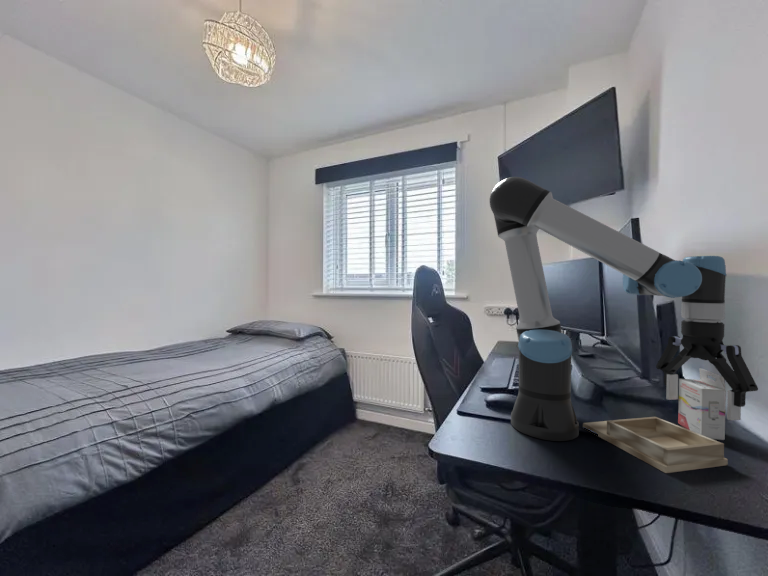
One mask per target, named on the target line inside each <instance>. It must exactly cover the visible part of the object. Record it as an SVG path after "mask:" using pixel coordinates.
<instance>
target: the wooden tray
mask: <svg viewBox="0 0 768 576" xmlns="http://www.w3.org/2000/svg"><path fill="white" fill-rule="evenodd" d="M583 427H585V428H587V429H590V430H592V431H594V432H596V433H597V434H598V436H597V437H598V438H601V439H602V440H604V441H607V442H608V443H610V444H612V445H614V446H616V447H617V448H619V449H621V450H623V451H624V452H626V453H628V454H630V455H632V456H633V457H636V459H639V460H641V461H643V462H645V463H647V464H648V465H650V466H651V467H653V468H655V469H657V470H659V471H661V472H663V473H664V474H671V473H677V472H678V473H679V472H685V471H694V470H699V469H700V470H702V469H708V468H710V469H711V468H715V467H717V468H718V467H723V466H728V463H729V461H728V458H726V457H725V443H723V442H720V441H717V439H711V438H708V437H706V436H703V435H701V434H698V433H696V432H693V431H690V430H688V429H686V428H685V427H683V426H681V425H678V424H676V423H674V422H670V421H668V420H665V419H663V418H660V417H657V416H649V417H647V416H646V417H637V418H634V417H633V418H626V419H625V418H623V419H612V420H604V421H603V420H602V421H601V420H600V421H590V422H583V423H582V428H583Z"/></svg>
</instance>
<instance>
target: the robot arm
mask: <svg viewBox="0 0 768 576" xmlns="http://www.w3.org/2000/svg"><path fill="white" fill-rule="evenodd" d="M489 207H490V209H491V210H490V211H492V213H493V217H494V221H495V222H494V223H495V227H496V228H495V229H496V232H497V237H498V238H499V239H502V241H504V245H505V250H506V255H507V259H508V265H509V270H510V275H511V280H512V285H513V290H514V294H515V301H516V307H517V310H518V316H519V322H518V324H517V325H516V326H515V329H516V334H517V340H518V344H517V346H518V347H517V348H518V394H517V397H516V399H515V401H514V404H513V409H512V410H511V413H510V424H511V425H512V427H513V428H514V429H515V430H517V431H518V432H520V433H522V434H525V435H526V436H529V437H532V438H536V439H539V440H545V441H554V442H566V441H567V442H568V441H572V440H574V439H576V438H578V437H579V434H580V433H579V432H580V426H579V421H578V419H577V415H576V412H575V408H574V406H573V403H572V353H573V346H572V340H571V338H570V336H569V335H567V334H566V333H564V332H563V331H562V326H561V321H560V320H558V318H557V319H556V318H555V317H554V316H553V312H552V307H551V302H550V297H549V292H548V287H547V283H546V278H545V272H544V267H543V263H542V256H541V252H540V247H539V243H538V238H537V233H538V232H539V230H541V231H542V232H545V233H546V234H548V235H550V236H552V237H553V238H556V239H558V240H559V241H561V242H563V243H565V244H567V245H569V246H570V247H573V248H574V249H575V250H577V251H580V252H582V253H583V254H585V255H587V256H589V257H590V258H593V259H594V260H596V261H599V262H600V263H602V264H604V265H606V266H608V267H609V268H611V269H612V270H615V271H617V272H619V273H621V274H622V288H623V291H624V292H625V293H626V294H628V295H637V296H657V297H661V296H662V297H666V298H671V299H674V298H681V313H680V315H681V316H680V317H681V318H683V320H682V321H681V322H680V323H681V324H680V327H681V329H680V330H681V331H680V332H681V335H682V337H681V336H678V335H677V336H675V335H674V336H669V337H668V338H667V339H668V341H667V345H666V347H665V349H664V350H663V352H662V354H661V356H660V358H659V360H658V361H657V364H656V365H655V367H656V369H657V370H660V371H661V372H662V373H663V383H664V385H665V386H666V387H665V388H666V389H665V391H666V393H665V395H666V397H665V399H666V400H667V401H668V400H669V401H670V400H671V401H672V400H679V374H678V373H677V371H678V370H679V369H680V368H681V367H682V366H683V365H685V363H686V362H688V361H689V360H690V359H700V360H703V361H708V362H709V363H710V365H711V364H712V365H713V366H714V368H715V369H716V370H717V371H718V373H719V375H721V376H722V377H723V378H724V379H725V383H727V385H728V386H729V387H730V388H731V389H729V390H727V405H726V406H727V407H726V409H727V411H726V412H727V413H726V415H727V416H726V420H728V421H741V420H742V417H741V415H742V413H741V411H742V408H743V407H745V406H746V398H747V397H746V394H747V393H748V392H758V390H759V387H758V385H757V384H756V382H755V379H754V378H753V375H752V373H751V372H750V369H749V368H748V366H747V364H746V362H745V359H744V358H743V356H742V348H741V346H740V345H738V344H735V345H734V344H733V345H731V344H729V345H728V344H727V345H726V344H724V342H723V340H724V339H725V338H724V337H725V323H724V322H722V321H724V320H725V315H726V314H725V309H726V307H725V306H726V304H725V303H726V302H725V300H726V299H725V297H726V280H727V269H726V267H727V266H726V261H725V258H724V257H722V256H719V255H699V256H698V255H697V256H696V255H695V256H685V257H684V258H682V260H675V259H673V258H671V257H670V256H667V255H665V254H663V253H661V252H659V251H658V250H656V249H654V248H651V247H649V246H647V245H646V244H644V243H642V242H640V241H638V240H635V239H634V238H631V237H630V236H628V235H627V234H623V233H622V232H621V231H618V230H616V229H615V228H612V227H610V226H608V225H606V224H604V223H602V222H600V221H598V220H597V219H594V218H593V217H590V216H588V215H587V214H586V213H585V214H584V213H583V212H582V211H581V212H580V211H578V210H577V209H575V208H573V207H570V206H569V205H567V204H565V203H563V202H561V201H558V200H557V199H554V196H553V192H552V191H550V190H548V189H545V188H543V187H542V186H540V185H538V184H536V183H535V182H533V181H531V180H528V179H527V178H524V177H520V176H510V177H507V178H504V179H502V180H501V181H499V182H498V183H497V184H495V186H494V187H493V189H492V190H491V192H490V197H489ZM681 346H682V347H683V348H682V350H681V351H679V349H680V347H681ZM678 351H679V352H678ZM677 353H678V355H677V356H676V354H677ZM722 353H723V354H725V355H726V356H727V357H726V358H725V356H724V355H723V354H722ZM675 356H676V357H675ZM727 360H728V362H729V363H728V362H727Z"/></svg>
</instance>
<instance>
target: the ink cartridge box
mask: <svg viewBox="0 0 768 576" xmlns="http://www.w3.org/2000/svg"><path fill="white" fill-rule="evenodd" d="M698 372H699V379H695V378H694V379H692V378H678V411H677V412H678V413H677V414H678V416H677V417H678V419H677V423H678V424H679V426H681V427H683V428H685V429H688V430H690V431H693V432H696V433H698V434H701V435H703V436H706V437H708V438H711V439H713V440H719V441H724V440H725V438H726V436H725V435H726V434H725V433H726V432H725V431H726V397H727V392H726V384H725V383H726V381H725V379H724V378H723V377H722V375H721V374H718V373H715V372H712V371H710V370H708V369H707V370H706V369H704V368H701V367H699V371H698ZM709 377H712V378H714V379H715V380H714V379H712V378H709ZM678 424H677V425H678Z"/></svg>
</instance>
